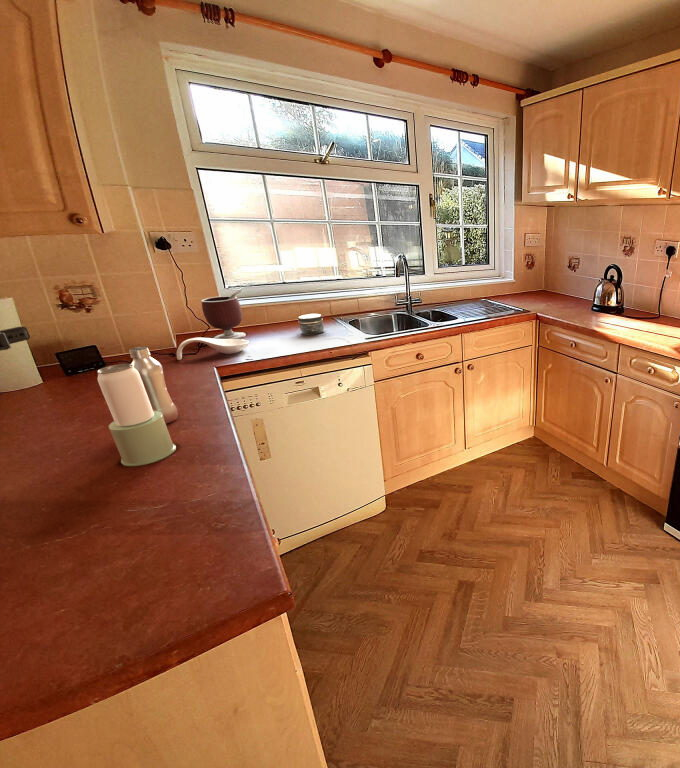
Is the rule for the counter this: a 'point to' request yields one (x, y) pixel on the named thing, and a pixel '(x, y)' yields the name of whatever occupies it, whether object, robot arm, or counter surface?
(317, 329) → the jar
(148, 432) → the cup
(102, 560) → the counter surface
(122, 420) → the can
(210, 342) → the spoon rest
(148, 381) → the plastic bottle
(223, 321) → the mate gourd
